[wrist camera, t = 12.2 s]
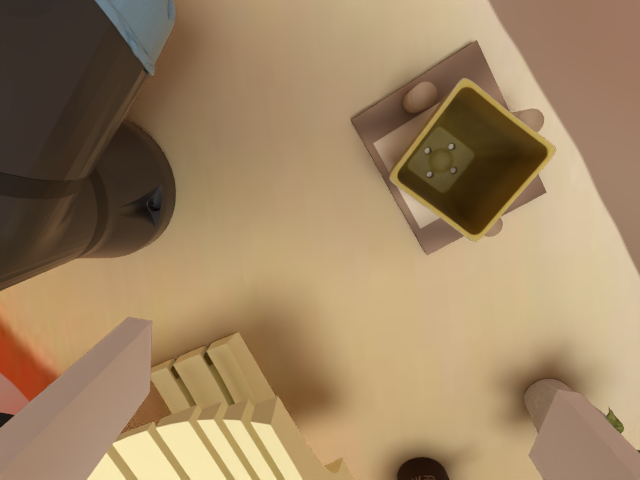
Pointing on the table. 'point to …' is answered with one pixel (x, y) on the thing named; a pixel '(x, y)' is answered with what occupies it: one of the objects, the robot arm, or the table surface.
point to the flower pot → (471, 160)
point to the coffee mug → (422, 470)
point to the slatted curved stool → (216, 426)
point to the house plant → (541, 400)
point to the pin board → (401, 128)
